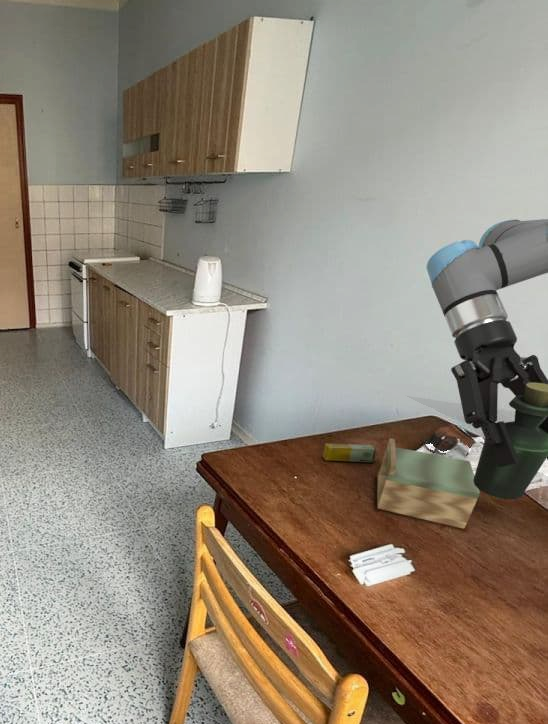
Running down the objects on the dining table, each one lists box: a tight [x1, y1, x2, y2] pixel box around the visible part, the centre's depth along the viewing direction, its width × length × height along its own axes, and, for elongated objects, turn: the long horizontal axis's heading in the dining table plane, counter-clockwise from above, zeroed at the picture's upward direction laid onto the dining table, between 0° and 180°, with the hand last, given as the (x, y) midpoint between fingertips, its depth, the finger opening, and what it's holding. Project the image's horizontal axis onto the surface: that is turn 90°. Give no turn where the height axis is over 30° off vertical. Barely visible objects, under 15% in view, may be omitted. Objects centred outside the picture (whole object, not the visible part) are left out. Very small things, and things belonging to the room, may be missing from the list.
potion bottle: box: [473, 383, 548, 500], centre depth 74 cm, size 8×8×18 cm
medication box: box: [322, 443, 377, 464], centre depth 122 cm, size 12×3×4 cm, turn 85°
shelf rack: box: [376, 437, 481, 530], centre depth 104 cm, size 16×14×11 cm
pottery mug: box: [424, 423, 477, 454], centre depth 124 cm, size 12×10×8 cm
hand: (534, 461), depth 72 cm, fingers closed on potion bottle, 8 cm apart
